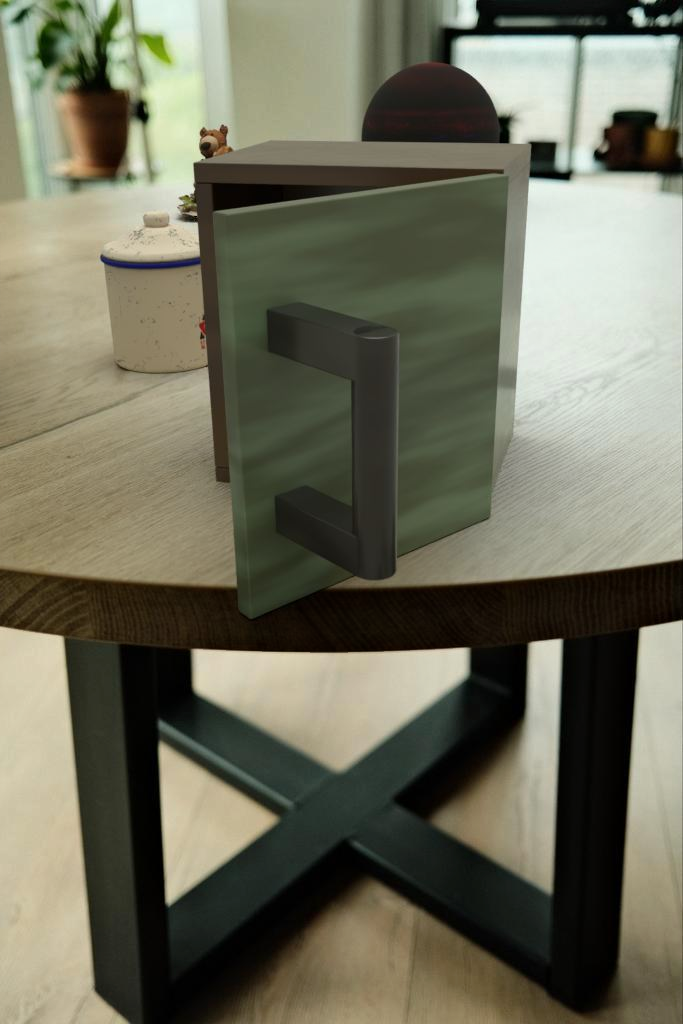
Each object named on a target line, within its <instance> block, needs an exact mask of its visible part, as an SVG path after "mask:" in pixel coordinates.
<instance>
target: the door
mask: <svg viewBox="0 0 683 1024" xmlns="http://www.w3.org/2000/svg"><path fill="white" fill-rule="evenodd" d="M508 187H509V175H505V174H496V173H492V174H485V175H478V176H470V177H463V178H456V179H448V180H441V181H433V182H426V183H419V184H411V185H404V186H397V187H389V188H382V189H375V190H367V191H360V192H353V193H345V194H338V195H331V196H323V197H316V198H309V199H301V200H294V201H287V202H279V203H272V204H265V205H257V206H250V207H243V208H235V209H228V210H221V211H214V212H213V225H214V240H215V255H216V271H217V286H218V301H219V317H220V332H221V347H222V363H223V378H224V393H225V409H226V424H227V439H228V455H229V470H230V483H229V484H230V485H229V486H230V499H231V514H232V515H231V516H232V531H233V543H234V546H233V547H234V559H235V560H234V562H235V578H236V592H237V607H238V612H239V613H240V614H241V615H243V616H245V617H246V618H248V619H249V620H254V619H255V618H258V617H260V616H262V615H265V614H267V613H270V612H272V611H274V610H276V609H279V608H282V607H284V606H285V605H288V604H290V603H293V602H296V601H298V600H301V599H303V598H305V597H307V596H310V595H312V594H314V593H316V592H320V590H324V589H325V588H329V587H330V586H333V585H335V584H337V583H340V582H342V581H344V580H346V579H349V578H351V577H353V576H355V577H356V578H360V579H363V580H365V581H383V580H384V581H385V580H387V579H390V578H392V577H393V576H394V575H396V573H397V571H398V557H400V556H403V555H404V554H407V553H409V552H412V551H414V550H416V549H419V548H421V547H423V546H426V545H429V544H431V543H433V542H435V541H439V540H440V539H442V538H444V537H447V536H449V535H452V534H454V533H457V532H459V531H461V530H463V529H466V528H468V527H470V526H473V525H475V524H477V523H479V522H482V521H485V520H486V519H489V518H490V517H491V515H492V513H491V512H492V499H493V498H492V496H493V492H492V479H493V461H494V443H495V425H496V406H497V388H498V370H499V352H500V333H501V315H502V297H503V279H504V260H505V242H506V224H507V205H508Z"/></svg>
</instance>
